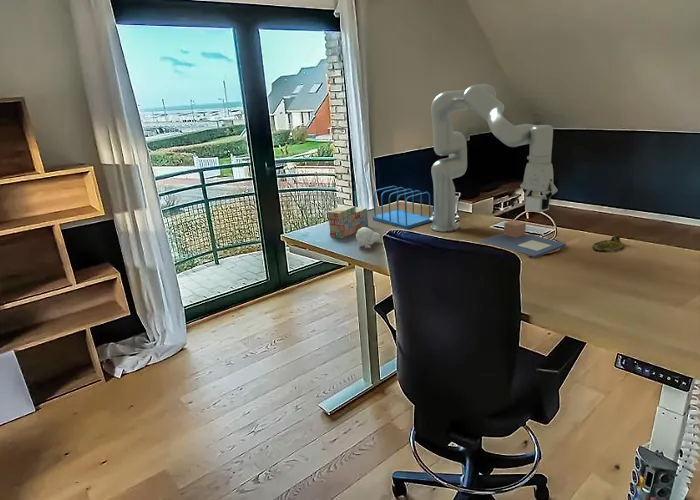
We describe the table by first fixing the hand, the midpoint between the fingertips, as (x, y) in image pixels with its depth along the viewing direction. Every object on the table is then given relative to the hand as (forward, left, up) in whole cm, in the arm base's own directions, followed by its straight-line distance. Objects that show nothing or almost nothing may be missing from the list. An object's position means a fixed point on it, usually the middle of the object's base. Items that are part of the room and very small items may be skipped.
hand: (537, 207), depth 179 cm
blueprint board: (-6, 0, -16) cm, 17 cm away
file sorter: (-68, -10, -17) cm, 71 cm away
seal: (+18, +19, -17) cm, 32 cm away
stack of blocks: (-72, -39, -17) cm, 83 cm away
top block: (-14, +6, -15) cm, 22 cm away
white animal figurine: (-49, -44, -17) cm, 68 cm away
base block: (0, 0, -1) cm, 1 cm away
